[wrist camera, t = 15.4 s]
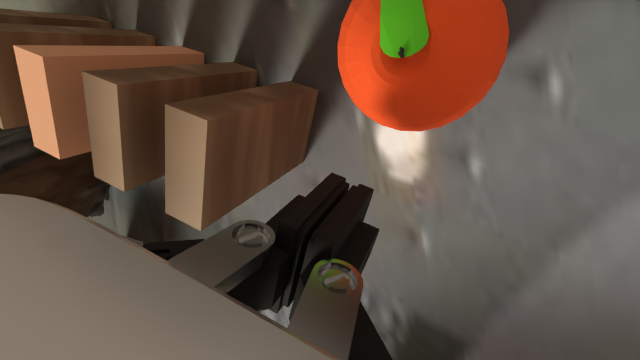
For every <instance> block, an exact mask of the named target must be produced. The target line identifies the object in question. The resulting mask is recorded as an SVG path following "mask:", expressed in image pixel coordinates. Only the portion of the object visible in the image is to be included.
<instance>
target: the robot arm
mask: <svg viewBox="0 0 640 360" xmlns="http://www.w3.org/2000/svg"><path fill="white" fill-rule="evenodd" d="M348 189H349V183H347V182H346V178H344V177H342V176H339V175H337V174H334V173H331V174H330V175H329V176H328V177H327V178H325V179H324V180H323V181H322V182H321V183H320V184H319V185H318V186H317V187H316V188H315V189H314V190H313V191H311V192H310V193H309V194H308V195H307V196H306V197H304V196H301V195H298V196H296V197H295V198H294V199H293V200H292V201H291V202H289V203H288V204H287V205H286V206H285V207H284V208H283V209H281V210H280V211H279V212H278V213H277V214H276V215H275V216H273V217H272V218H271V219H270V220H269V221H268V222H267V223H265V224H264V223H262V222H259V221H255V220H244V221H239V222H236V223H234V224H232V225H230V226H228V227H227V228H225V229H223V230H221V231H219V232H218V233H216V234H214V235H212V236H210V237H209V238H207V239H198V240H183V241H169V242H156V243H150V244H146V245H143V242H142V241H139V240H135V239H132V238H129V237H125V236H122V235H119V234H118V233H116V232H114V231H112V230H110V229H108V228H106V227H104V226H103V225H101V224H99V223H97V222H95V221H93V220H91V219H89V218H87V217H85V216H83V215H81V214H79V213H77V212H75V211H72V210H70V209H67V208H65V207H62V206H60V205H57V204H55V203H51V202H48V201H44V200H41V199H37V198H32V197H26V196H20V195H12V194H0V360H392V358H391V356H390V354H389V352H388V350H387V349H386V347H385V345H384V343H383V341H382V340H381V338H380V336H379V334H378V332H377V331H376V329H375V327H374V325H373V323H372V321H371V320H370V318H369V316H368V314H367V312H366V311H365V309H364V307H363V305H362V303H361V302H360V299H361V294H362V289H363V279H362V277H361V273H362V271H363V269H364V267H365V265H366V263H367V260H368V258H369V256H370V253H371V251H372V248H373V246H374V243H375V240H376V238H377V235H378V232H379V229H378V228H376V227H373V226H371V225H369V224H366V223H364V222H363V221H364V218H365V215H366V212H367V209H368V206H369V203H370V200H371V197H372V194H373V191H374V189H372V188H369V187H367V186H364V185H362V184H359V185H358V186H357V187H356V186H354V185H353V186H352V187H351V188H350V189H349V190H348ZM293 300H294V301H293ZM292 301H293V305H292V309H291V313H290V317H289V320H290V323H289V325H288V328H286V327H284V326H282V325H280V324H279V323H277V322H275V321H273V320H272V319H270V318H268V317H266V316H264V315H263V314H261V311H262V310H266V309H270V310H271V311H273V312H275V313H278V312H279V310H280V309H281V308H282V306H283V305H284V306H286V307H288V306H289V305H290V304H291V303H292Z"/></svg>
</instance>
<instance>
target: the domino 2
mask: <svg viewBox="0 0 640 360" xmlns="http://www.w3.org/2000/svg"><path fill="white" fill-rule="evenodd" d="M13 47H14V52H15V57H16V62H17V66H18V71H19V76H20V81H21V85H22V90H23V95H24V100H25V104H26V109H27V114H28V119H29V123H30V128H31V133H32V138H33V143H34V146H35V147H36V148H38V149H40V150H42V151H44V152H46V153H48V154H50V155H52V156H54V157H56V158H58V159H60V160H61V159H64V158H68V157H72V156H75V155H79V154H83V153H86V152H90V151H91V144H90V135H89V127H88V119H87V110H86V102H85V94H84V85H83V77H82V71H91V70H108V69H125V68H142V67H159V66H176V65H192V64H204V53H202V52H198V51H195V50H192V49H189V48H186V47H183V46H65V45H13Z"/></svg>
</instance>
